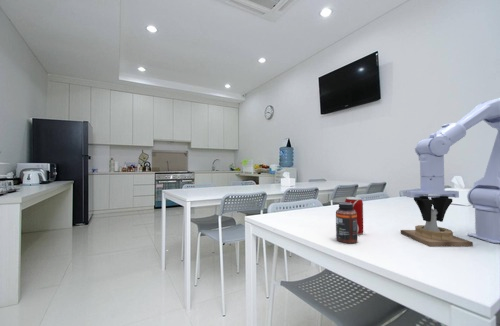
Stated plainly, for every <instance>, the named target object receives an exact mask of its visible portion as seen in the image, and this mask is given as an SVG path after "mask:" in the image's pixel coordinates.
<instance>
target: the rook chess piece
mask: <svg viewBox="0 0 500 326" xmlns="http://www.w3.org/2000/svg"><path fill="white" fill-rule="evenodd" d="M437 214H438V212H437V209H434V208H432V209H431V221H430V222H427V221H425V224H424V225H425V226H424V227H423V229H426V230H430V231H438V232H440V230H439V229H438V227H439V226H438V222H437V221H436V218H437V217H436V215H437Z"/></svg>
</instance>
